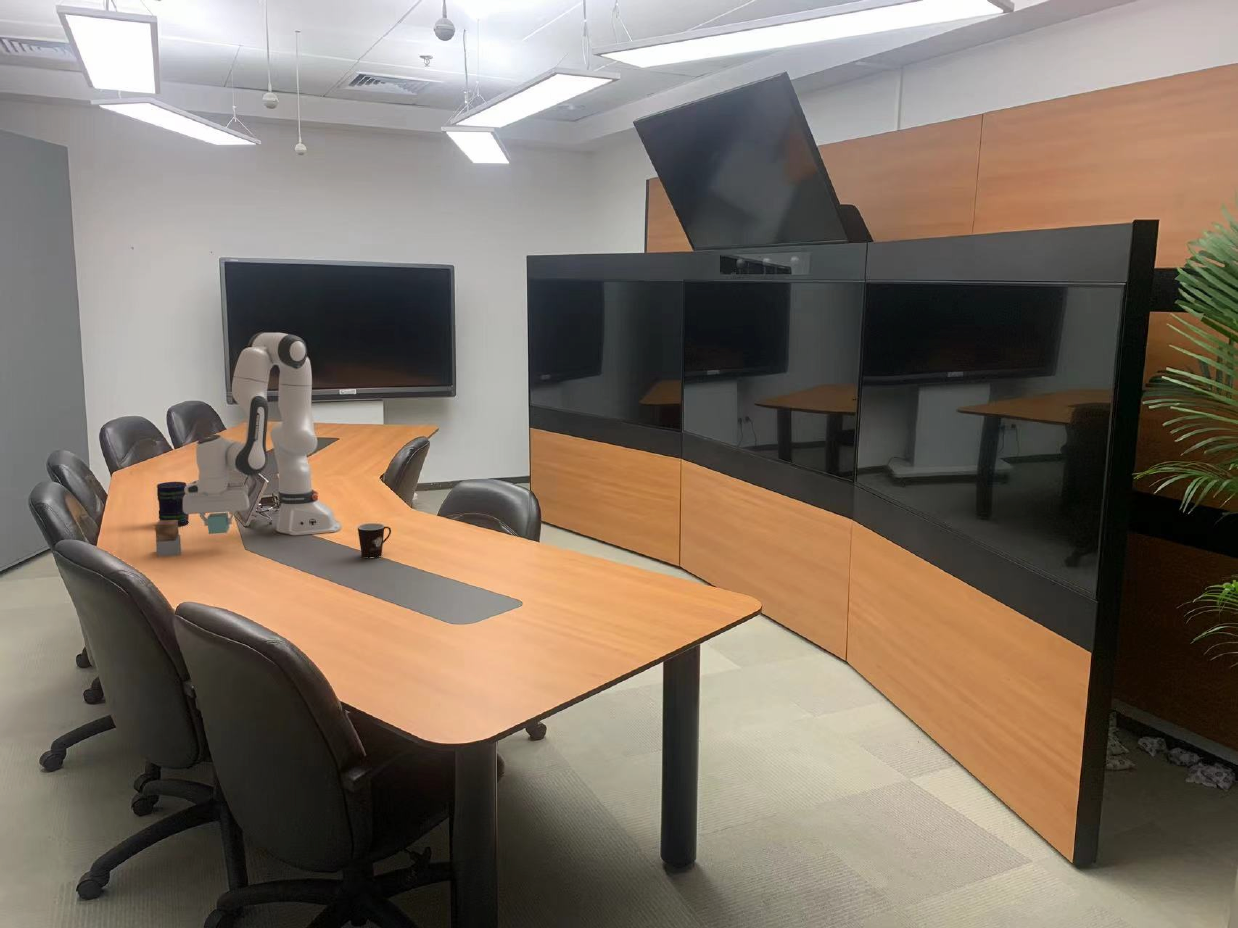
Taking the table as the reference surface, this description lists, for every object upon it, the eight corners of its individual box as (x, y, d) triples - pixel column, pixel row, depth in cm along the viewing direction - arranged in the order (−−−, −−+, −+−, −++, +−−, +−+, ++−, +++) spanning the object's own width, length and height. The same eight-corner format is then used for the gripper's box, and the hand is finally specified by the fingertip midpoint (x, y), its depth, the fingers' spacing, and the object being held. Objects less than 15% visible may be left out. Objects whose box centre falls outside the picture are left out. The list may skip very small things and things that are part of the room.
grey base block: (181, 549, 301) (180, 534, 300) (181, 555, 294) (180, 540, 293) (157, 551, 298) (156, 536, 297) (157, 557, 291) (155, 542, 290)
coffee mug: (361, 560, 293) (360, 531, 292) (355, 553, 301) (355, 524, 299) (397, 556, 299) (396, 527, 297) (390, 549, 306) (390, 521, 304)
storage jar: (153, 525, 327) (150, 485, 324) (174, 519, 336) (171, 480, 333) (174, 529, 324) (171, 488, 321) (195, 522, 333) (192, 483, 330)
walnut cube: (178, 536, 298) (177, 519, 297) (174, 540, 293) (173, 524, 292) (160, 536, 297) (159, 520, 296) (156, 541, 292) (155, 524, 291)
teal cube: (229, 527, 304) (227, 512, 303) (226, 532, 299) (224, 516, 298) (212, 529, 303) (210, 513, 302) (208, 533, 298) (206, 517, 297)
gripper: (249, 480, 303) (253, 519, 306) (183, 484, 298) (188, 524, 301) (246, 484, 297) (250, 525, 300) (179, 488, 292) (183, 529, 295)
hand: (218, 524), depth 301 cm, fingers closed on teal cube, 5 cm apart
